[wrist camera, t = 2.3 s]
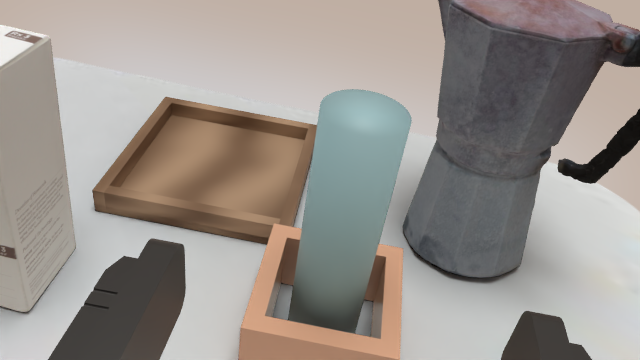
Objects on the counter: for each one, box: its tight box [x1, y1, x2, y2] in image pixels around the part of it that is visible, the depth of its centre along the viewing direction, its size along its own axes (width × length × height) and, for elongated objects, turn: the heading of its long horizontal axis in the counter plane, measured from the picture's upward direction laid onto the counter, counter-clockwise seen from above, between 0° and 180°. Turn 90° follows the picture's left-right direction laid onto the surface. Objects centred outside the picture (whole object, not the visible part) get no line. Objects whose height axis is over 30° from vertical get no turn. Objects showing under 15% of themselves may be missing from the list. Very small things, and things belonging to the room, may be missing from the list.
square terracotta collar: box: [238, 223, 403, 360], centre depth 32 cm, size 8×8×4 cm
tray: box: [92, 97, 317, 244], centre depth 43 cm, size 14×14×2 cm
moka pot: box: [403, 0, 640, 278], centre depth 35 cm, size 10×15×20 cm, turn 52°
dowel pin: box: [288, 89, 411, 334], centre depth 29 cm, size 4×4×15 cm
